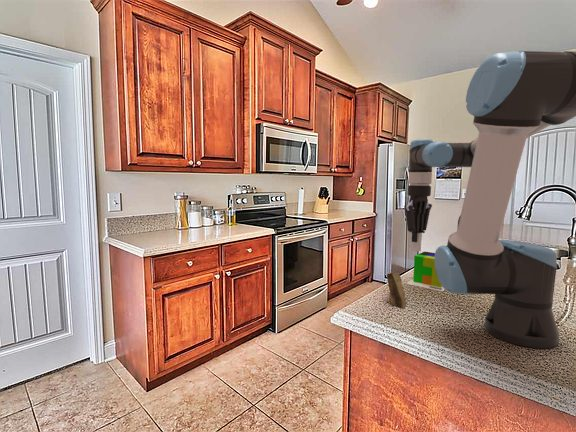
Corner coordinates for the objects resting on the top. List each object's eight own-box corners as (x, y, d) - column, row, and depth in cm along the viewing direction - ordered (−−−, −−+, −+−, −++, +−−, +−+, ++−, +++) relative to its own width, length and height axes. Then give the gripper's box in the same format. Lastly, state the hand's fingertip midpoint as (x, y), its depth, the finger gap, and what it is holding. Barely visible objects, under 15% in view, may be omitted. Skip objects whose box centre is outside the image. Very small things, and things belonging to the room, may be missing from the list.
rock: (389, 285, 112) (373, 287, 105) (405, 269, 108) (389, 270, 101) (410, 312, 105) (394, 316, 99) (429, 295, 101) (413, 298, 95)
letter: (443, 291, 112) (443, 291, 112) (405, 283, 121) (405, 283, 121) (456, 279, 126) (456, 279, 126) (421, 273, 134) (422, 273, 134)
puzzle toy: (449, 281, 124) (451, 255, 122) (440, 287, 116) (442, 260, 115) (423, 275, 130) (424, 251, 129) (413, 281, 123) (414, 255, 122)
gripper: (421, 184, 120) (417, 246, 123) (398, 184, 113) (395, 250, 116) (440, 184, 114) (436, 250, 117) (417, 185, 107) (413, 255, 110)
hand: (415, 250), depth 116 cm, fingers closed
